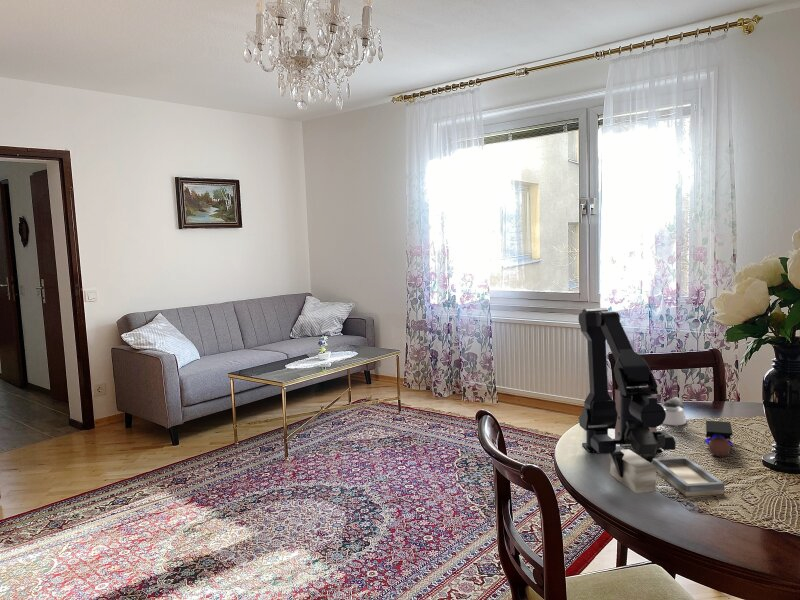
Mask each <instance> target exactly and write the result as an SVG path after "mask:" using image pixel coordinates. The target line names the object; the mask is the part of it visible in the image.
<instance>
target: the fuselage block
mask: <svg viewBox="0 0 800 600" xmlns="http://www.w3.org/2000/svg"><path fill="white" fill-rule="evenodd" d="M621 452H622V453H624V456H623V458H622V461H623V477H620V476H619V474H618V471H617V469H616V466H615V464H614V461H613V459H612V457H611V456H610V476H612V477H614V478H615V479H617V480H618V482H619V481H620V483H621V484H623V485H624V486H626V487H628V488H629V489H630V490H631V491H632V492H634V493H636V494H641V493H646V492H653V491H656V490H657V489H656V488H657V486H656V485H657V484H656V483H657V481H656V479H657V475H656V474H657V472H656V466H655V465H654V464H652V462H651V463H650V462H649V461H647V460H645V459H644V458H642V457H641V455H638V454H636V453H635V452H634V451H633V450H631V449H621Z"/></svg>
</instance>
